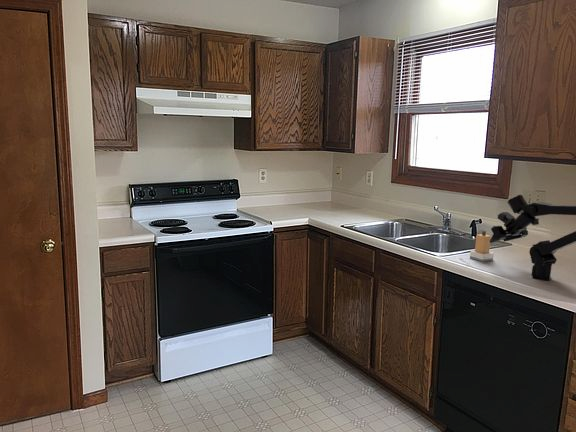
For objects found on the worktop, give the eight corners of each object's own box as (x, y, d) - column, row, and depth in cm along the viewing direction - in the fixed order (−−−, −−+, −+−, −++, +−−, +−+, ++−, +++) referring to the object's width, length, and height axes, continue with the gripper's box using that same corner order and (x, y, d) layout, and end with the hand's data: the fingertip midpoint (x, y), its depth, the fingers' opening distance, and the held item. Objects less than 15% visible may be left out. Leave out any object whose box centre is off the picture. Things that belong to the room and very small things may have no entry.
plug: (488, 257, 226) (491, 231, 224) (482, 258, 224) (484, 232, 222) (480, 255, 230) (483, 229, 228) (474, 256, 228) (477, 230, 226)
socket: (492, 260, 226) (493, 252, 225) (482, 261, 222) (483, 254, 222) (480, 256, 232) (481, 249, 231) (469, 257, 229) (470, 250, 228)
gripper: (525, 206, 215) (501, 225, 227) (497, 208, 207) (473, 228, 218) (539, 226, 210) (514, 245, 222) (510, 229, 201) (486, 248, 213)
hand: (497, 241), depth 219 cm, fingers open, 9 cm apart
